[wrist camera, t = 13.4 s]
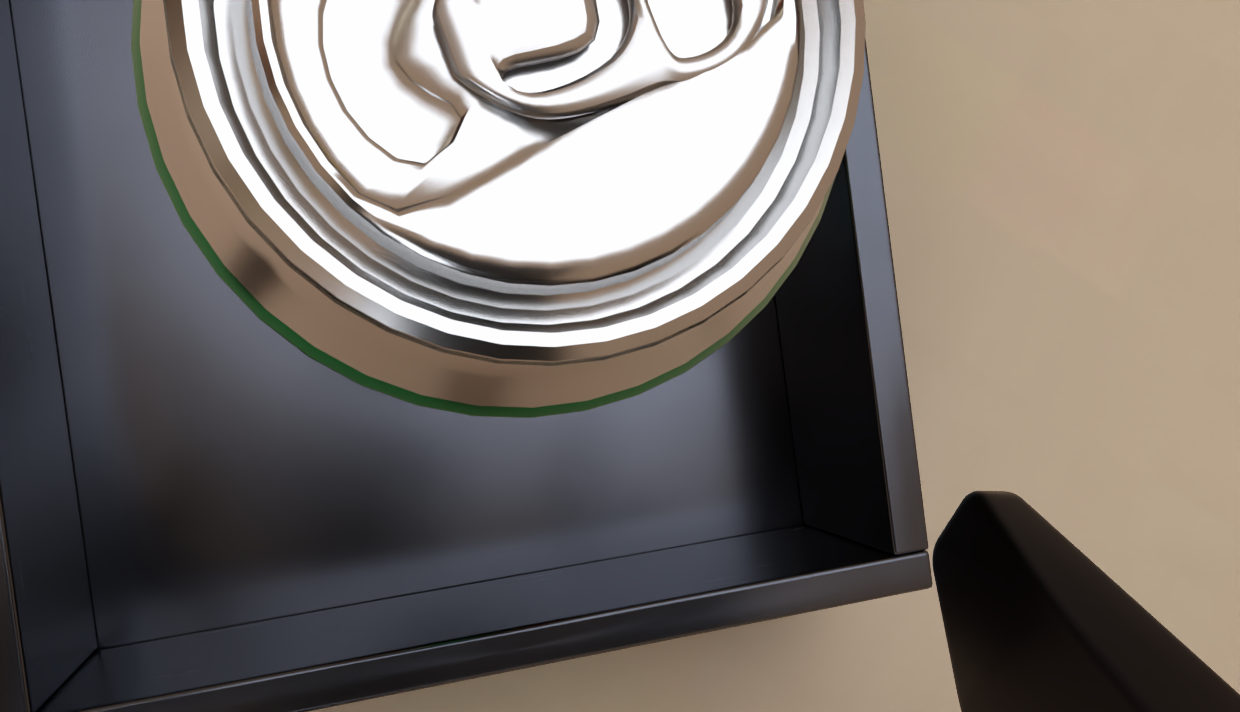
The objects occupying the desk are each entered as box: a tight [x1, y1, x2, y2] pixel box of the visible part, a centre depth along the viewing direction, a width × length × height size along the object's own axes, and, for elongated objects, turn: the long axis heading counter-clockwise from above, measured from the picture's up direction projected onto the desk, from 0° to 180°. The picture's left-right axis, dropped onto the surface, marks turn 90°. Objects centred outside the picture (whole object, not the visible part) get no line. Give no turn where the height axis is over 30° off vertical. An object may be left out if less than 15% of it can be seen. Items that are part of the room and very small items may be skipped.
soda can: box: [131, 0, 865, 418], centre depth 12 cm, size 5×5×12 cm
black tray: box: [0, 0, 932, 712], centre depth 17 cm, size 13×13×4 cm
